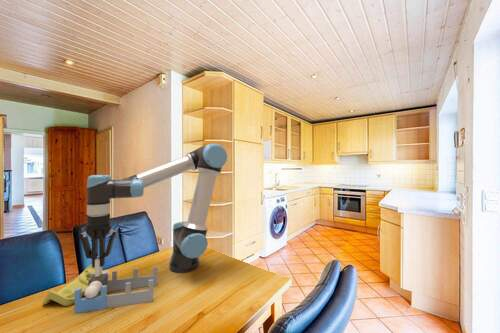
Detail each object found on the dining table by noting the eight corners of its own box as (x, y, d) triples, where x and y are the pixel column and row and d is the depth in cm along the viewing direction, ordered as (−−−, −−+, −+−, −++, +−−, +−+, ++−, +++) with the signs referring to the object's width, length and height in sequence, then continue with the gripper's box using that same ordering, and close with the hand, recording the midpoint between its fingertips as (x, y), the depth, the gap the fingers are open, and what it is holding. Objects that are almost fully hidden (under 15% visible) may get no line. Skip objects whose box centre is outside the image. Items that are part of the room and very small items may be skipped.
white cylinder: (98, 279, 92) (99, 268, 92) (112, 278, 94) (112, 267, 94) (80, 302, 77) (81, 288, 77) (96, 300, 78) (97, 287, 78)
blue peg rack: (157, 284, 97) (157, 266, 97) (152, 301, 84) (152, 281, 84) (90, 292, 90) (91, 273, 90) (74, 313, 77) (74, 290, 77)
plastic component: (71, 301, 81) (47, 289, 81) (63, 318, 81) (39, 306, 81) (108, 272, 100) (88, 262, 100) (102, 285, 101) (82, 276, 101)
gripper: (120, 211, 91) (120, 268, 91) (83, 213, 87) (83, 272, 87) (114, 215, 84) (114, 277, 84) (74, 217, 80) (73, 282, 80)
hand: (98, 274), depth 85 cm, fingers closed
